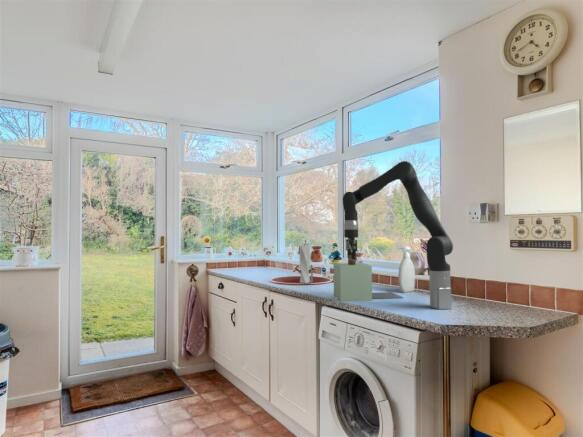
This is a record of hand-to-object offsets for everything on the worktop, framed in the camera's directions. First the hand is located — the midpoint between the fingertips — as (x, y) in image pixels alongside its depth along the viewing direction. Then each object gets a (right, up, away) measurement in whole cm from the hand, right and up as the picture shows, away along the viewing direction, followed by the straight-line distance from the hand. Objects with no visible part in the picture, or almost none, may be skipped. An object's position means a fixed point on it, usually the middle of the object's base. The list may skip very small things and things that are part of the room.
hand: (351, 258), depth 207 cm
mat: (+18, -21, +5) cm, 28 cm away
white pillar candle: (-23, -24, +61) cm, 69 cm away
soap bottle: (+35, -22, +19) cm, 46 cm away
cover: (0, -21, -1) cm, 21 cm away
